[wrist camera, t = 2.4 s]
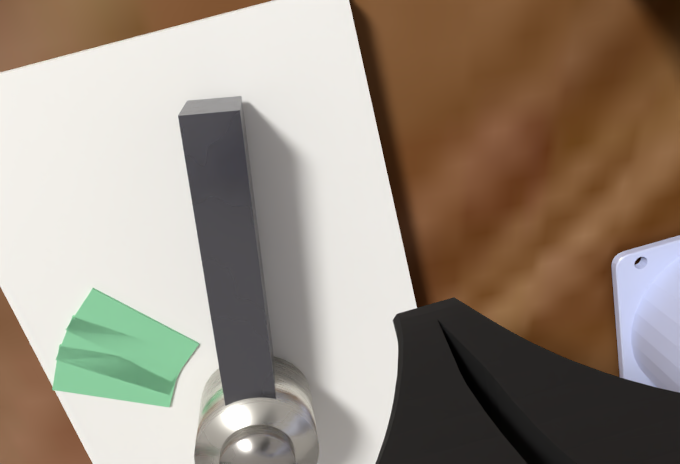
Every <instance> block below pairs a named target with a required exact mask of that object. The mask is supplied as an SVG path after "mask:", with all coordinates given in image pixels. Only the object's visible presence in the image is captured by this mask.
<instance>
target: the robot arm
mask: <svg viewBox="0 0 680 464" xmlns="http://www.w3.org/2000/svg"><path fill="white" fill-rule="evenodd" d="M639 257H641V260H640V262H639V263H638V264H636V265H634V264H635V261H636V260H637V258H639ZM612 280H613V293H614V306H615V320H616V333H617V347H618V360H619V373H620V377H617V376H614V375H611V374H607V373H604V372H601V371H599V370H596V369H593V368H590V367H588V366H585V365H582V364H579V363H577V362H574V361H572V360H569V359H567V358H564V357H562V356H559V355H557V354H555V353H553V352H551V351H549V350H546V349H544V348H542V347H540V346H538V345H536V344H533V343H531V342H530V341H528V340H526V339H524V338H522V337H520V336H518V335H516V334H514V333H513V332H511V331H509V330H507V329H505V328H504V327H502V326H500V325H498V324H497V323H495V322H493V321H492V320H490V319H488V318H487V317H485V316H483V315H482V314H480V313H479V312H477V311H475V310H474V309H472V308H471V307H469V306H467V305H466V304H464V303H462V302H461V301H459V300H457V299H456V298H451V299H447V300H444V301H440V302H437V303H433V304H430V305H426V306H422V307H419V308H415V309H412V310H408V311H405V312H401V313H398V314H396V316H395V317H394V319H393V324H394V328H395V332H396V336H397V340H398V369H397V379H396V386H395V393H394V400H393V405H392V410H391V415H390V419H389V423H388V427H387V430H386V434H385V437H384V440H383V443H382V446H381V449H380V452H379V455H378V458H377V461H376V463H375V464H680V235H679V236H676V237H672V238H669V239H665V240H662V241H658V242H654V243H651V244H647V245H644V246H640V247H637V248H633V249H630V250H626V251H623V252H621V253H619V254H617V255H616V256H615V257H614V259H613V261H612Z"/></svg>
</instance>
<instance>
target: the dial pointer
mask: <svg viewBox="0 0 680 464" xmlns="http://www.w3.org/2000/svg"><path fill="white" fill-rule="evenodd" d="M178 119H179V126H180V132H181V138H182V144H183V150H184V156H185V162H186V168H187V174H188V181H189V187H190V193H191V199H192V205H193V211H194V217H195V223H196V230H197V236H198V242H199V248H200V254H201V260H202V266H203V272H204V279H205V285H206V291H207V297H208V303H209V309H210V315H211V321H212V327H213V334H214V340H215V346H216V352H217V358H218V364H219V368H218V369H217V370H216V371H215V372H214V373H213V374H212V375H211V376H210V378H209V379H208V381H207V382H206V384H205V386H204V389H203V392H202V396H201V404H200V411H199V419H198V427H197V435H196V443H195V451H194V461H195V464H317V461H318V457H319V442H318V435H317V429H316V422H315V415H314V408H313V401H312V394H311V389H310V386H309V383H308V381H307V379H306V377H305V376H304V374H303V373H302V372H301V371H300V370H299V369H298V368H297V367H296V366H294V365H293V364H292V363H290V362H288V361H286V360H284V359H282V358H279V357H275V356H273V347H272V339H271V331H270V323H269V315H268V307H267V299H266V291H265V282H264V274H263V266H262V258H261V250H260V242H259V234H258V226H257V217H256V209H255V201H254V193H253V185H252V177H251V169H250V161H249V153H248V144H247V136H246V128H245V120H244V112H243V104H242V96H236V97H224V98H212V99H201V100H189V101H187V102H186V103H185V105H184V107H183V108H182V110H181V111H180V113H179V115H178Z"/></svg>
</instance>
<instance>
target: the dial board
mask: <svg viewBox="0 0 680 464" xmlns="http://www.w3.org/2000/svg"><path fill="white" fill-rule="evenodd" d="M236 96H242V104H243V112H244V120H245V128H246V136H247V144H248V153H249V161H250V169H251V177H252V185H253V193H254V201H255V209H256V217H257V226H258V234H259V242H260V250H261V258H262V266H263V274H264V282H265V291H266V299H267V307H268V315H269V323H270V331H271V339H272V347H273V356H275V357H279V358H282V359H284V360H286V361H288V362H290V363H292V364H293V365H294V366H296V367H297V368H298V369H299V370H300V371H301V372H302V373H303V374H304V376H305V377H306V379H307V381H308V383H309V386H310V389H311V394H312V401H313V408H314V415H315V422H316V429H317V435H318V442H319V457H318V461H317V464H375V463H376V461H377V458H378V455H379V452H380V449H381V446H382V443H383V440H384V437H385V434H386V430H387V427H388V423H389V419H390V415H391V410H392V405H393V400H394V393H395V386H396V379H397V369H398V340H397V336H396V332H395V328H394V324H393V319H394V317H395V316H396V314H398V313H401V312H405V311H408V310H412V309H415V308H417V306H416V301H415V297H414V292H413V288H412V283H411V278H410V274H409V269H408V265H407V260H406V256H405V251H404V247H403V242H402V238H401V233H400V229H399V224H398V220H397V215H396V211H395V206H394V202H393V197H392V193H391V188H390V183H389V179H388V174H387V170H386V165H385V161H384V156H383V152H382V147H381V143H380V138H379V134H378V129H377V125H376V120H375V116H374V111H373V107H372V102H371V98H370V93H369V89H368V84H367V79H366V75H365V70H364V66H363V61H362V57H361V52H360V48H359V43H358V39H357V34H356V30H355V25H354V21H353V16H352V12H351V7H350V3H349V0H273V1H269V2H265V3H261V4H258V5H254V6H250V7H246V8H242V9H239V10H235V11H231V12H227V13H224V14H220V15H216V16H212V17H208V18H205V19H201V20H197V21H193V22H189V23H186V24H182V25H178V26H174V27H170V28H167V29H163V30H159V31H155V32H152V33H148V34H144V35H140V36H136V37H133V38H129V39H125V40H121V41H117V42H114V43H110V44H106V45H102V46H99V47H95V48H91V49H87V50H83V51H80V52H76V53H72V54H68V55H64V56H61V57H57V58H53V59H49V60H46V61H42V62H38V63H34V64H30V65H27V66H23V67H19V68H15V69H11V70H8V71H4V72H0V286H1V288H2V290H3V292H4V294H5V296H6V298H7V300H8V302H9V304H10V306H11V308H12V309H13V311H14V313H15V315H16V317H17V319H18V321H19V323H20V325H21V327H22V329H23V331H24V333H25V334H26V336H27V338H28V340H29V342H30V344H31V346H32V348H33V350H34V352H35V354H36V356H37V357H38V359H39V361H40V363H41V365H42V367H43V369H44V371H45V373H46V375H47V377H48V379H49V380H50V382H51V384H52V386H53V388H52V390H55V392H56V394H57V396H58V398H59V400H60V402H61V403H62V405H63V407H64V409H65V411H66V413H67V415H68V417H69V419H70V421H71V423H72V425H73V427H74V428H75V430H76V432H77V434H78V436H79V438H80V440H81V442H82V444H83V446H84V448H85V450H86V451H87V453H88V455H89V457H90V459H91V461H92V463H93V464H195V461H194V451H195V443H196V435H197V427H198V419H199V411H200V404H201V396H202V392H203V389H204V386H205V384H206V382H207V381H208V379H209V378H210V376H211V375H212V374H213V373H214V372H215V371H216V370H217V369H218V368H219V364H218V358H217V352H216V346H215V340H214V334H213V327H212V321H211V315H210V309H209V303H208V297H207V291H206V285H205V279H204V272H203V266H202V260H201V254H200V248H199V242H198V236H197V230H196V223H195V217H194V211H193V205H192V199H191V193H190V187H189V181H188V174H187V168H186V162H185V156H184V150H183V144H182V138H181V132H180V126H179V119H178V115H179V113H180V111H181V110H182V108H183V107H184V105H185V103H186V102H187V101H189V100H201V99H212V98H224V97H236Z"/></svg>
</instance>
